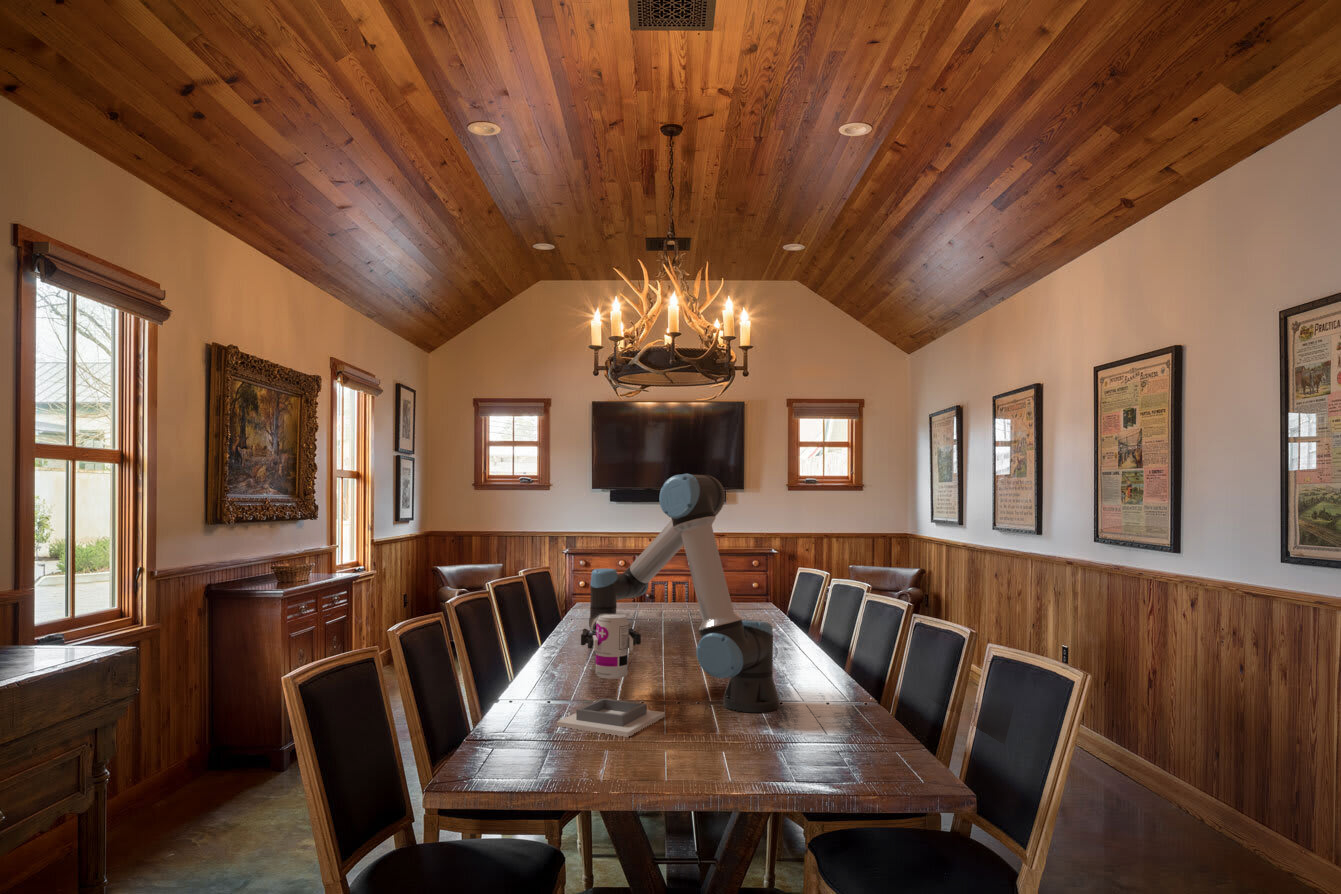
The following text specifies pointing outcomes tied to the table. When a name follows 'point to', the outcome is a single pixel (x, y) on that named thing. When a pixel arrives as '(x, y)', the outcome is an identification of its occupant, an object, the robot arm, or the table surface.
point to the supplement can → (612, 646)
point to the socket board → (612, 717)
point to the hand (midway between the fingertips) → (613, 645)
